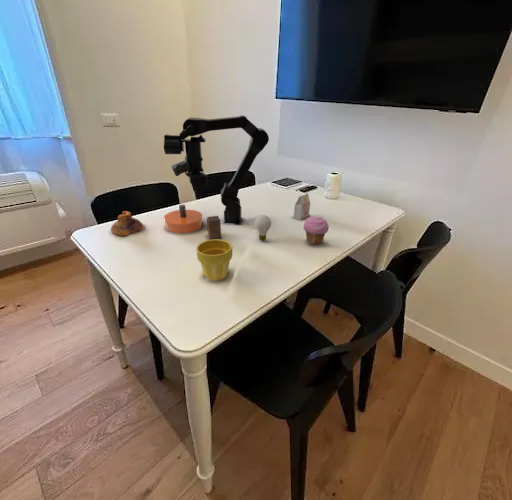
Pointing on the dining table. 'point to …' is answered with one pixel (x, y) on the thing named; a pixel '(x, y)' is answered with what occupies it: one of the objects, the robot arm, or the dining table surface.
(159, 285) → the dining table surface
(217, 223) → the block
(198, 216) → the lid
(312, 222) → the cupcake
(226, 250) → the flower pot
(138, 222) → the bell
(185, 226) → the pot
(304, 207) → the white milk carton
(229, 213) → the robot arm
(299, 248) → the dining table surface
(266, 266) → the dining table surface
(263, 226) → the light bulb
